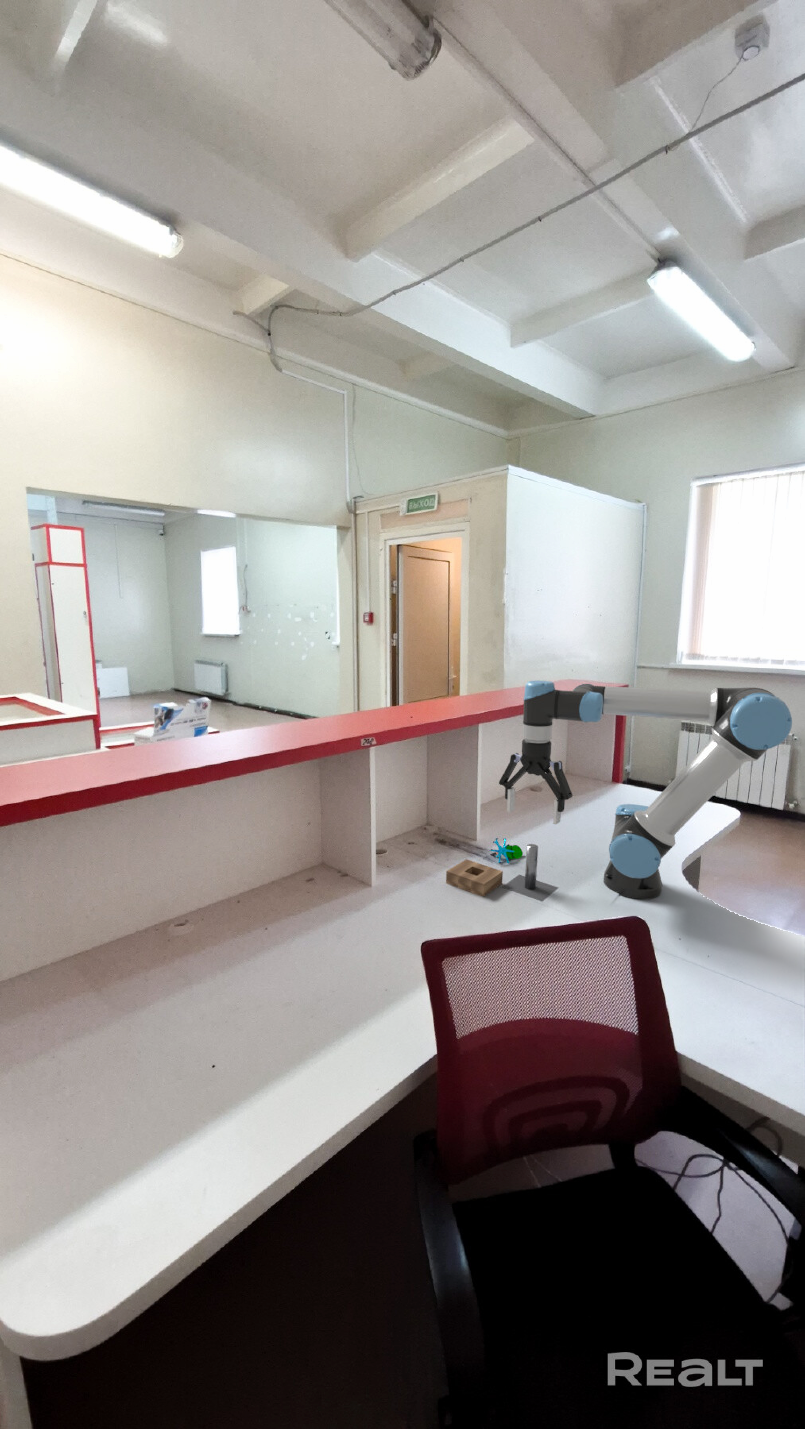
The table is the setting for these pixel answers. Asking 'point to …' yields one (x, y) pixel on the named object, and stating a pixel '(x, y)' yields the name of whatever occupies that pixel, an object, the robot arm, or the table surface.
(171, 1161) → the table surface
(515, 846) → the stick construction toy
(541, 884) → the mat
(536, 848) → the pin
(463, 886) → the wooden block with hole
